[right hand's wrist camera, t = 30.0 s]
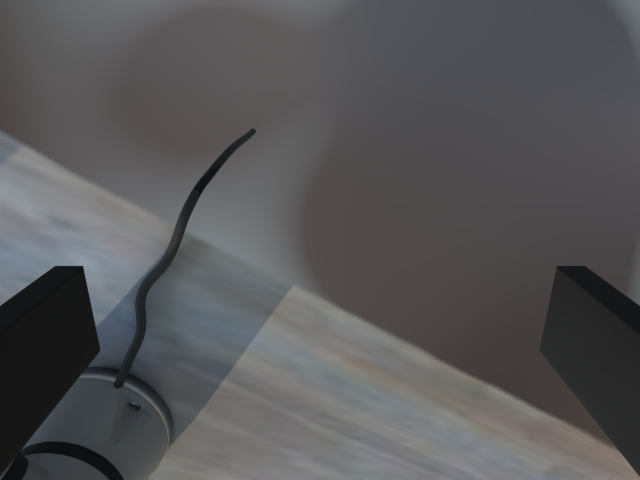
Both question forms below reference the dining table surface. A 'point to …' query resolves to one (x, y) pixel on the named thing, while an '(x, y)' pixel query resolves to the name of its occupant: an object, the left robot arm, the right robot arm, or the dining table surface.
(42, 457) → the right robot arm
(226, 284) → the dining table surface
